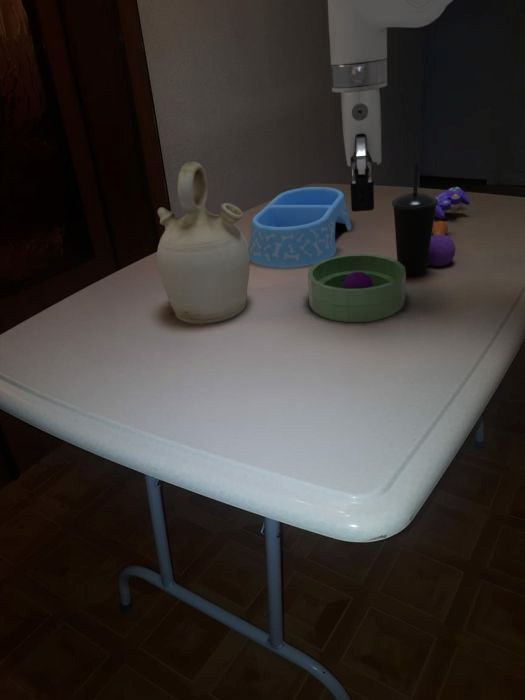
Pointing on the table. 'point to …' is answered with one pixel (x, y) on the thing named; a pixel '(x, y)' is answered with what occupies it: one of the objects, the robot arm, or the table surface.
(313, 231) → the dog bowl
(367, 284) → the ball
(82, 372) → the table surface
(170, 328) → the table surface
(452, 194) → the game controller
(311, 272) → the bowl
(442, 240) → the maraca
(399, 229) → the drinking cup
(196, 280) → the jug
